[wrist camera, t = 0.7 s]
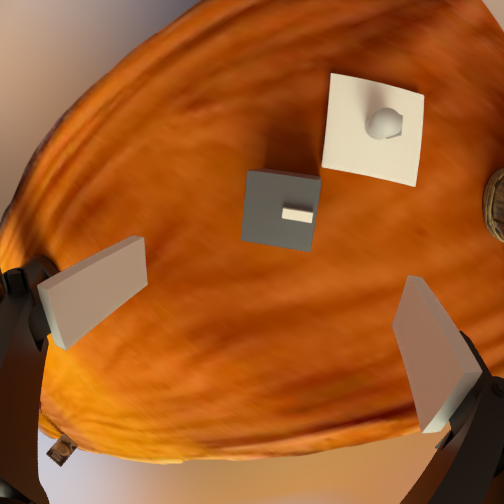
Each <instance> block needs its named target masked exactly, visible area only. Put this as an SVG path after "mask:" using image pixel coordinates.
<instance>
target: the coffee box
mask: <svg viewBox="0 0 504 504" xmlns="http://www.w3.org/2000/svg"><path fill="white" fill-rule="evenodd" d="M77 447H78V445H76V444H75V443H74V442H73V441H72V440H71V439H70V438H68V437H67V436H66V435H65V434H64V433H63V435H62V436H61V437H60V438H59V439H58V440H57V442H56V443H55V444H54V445H53V446H52V447H51V448H50V450H49V451H48V452H47V453H46V454H47V455H48V456H49V457H50V458H51V459H52V460H53V461H54V462H56V463H57V464H58V465H59V466H60V467H61V466H62V465H63V464H64V463H65V461H66V460H67V459H68V458H69V457H70V455H71V454H72V453H73V452H74V450H75V449H76V448H77Z"/></svg>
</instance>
